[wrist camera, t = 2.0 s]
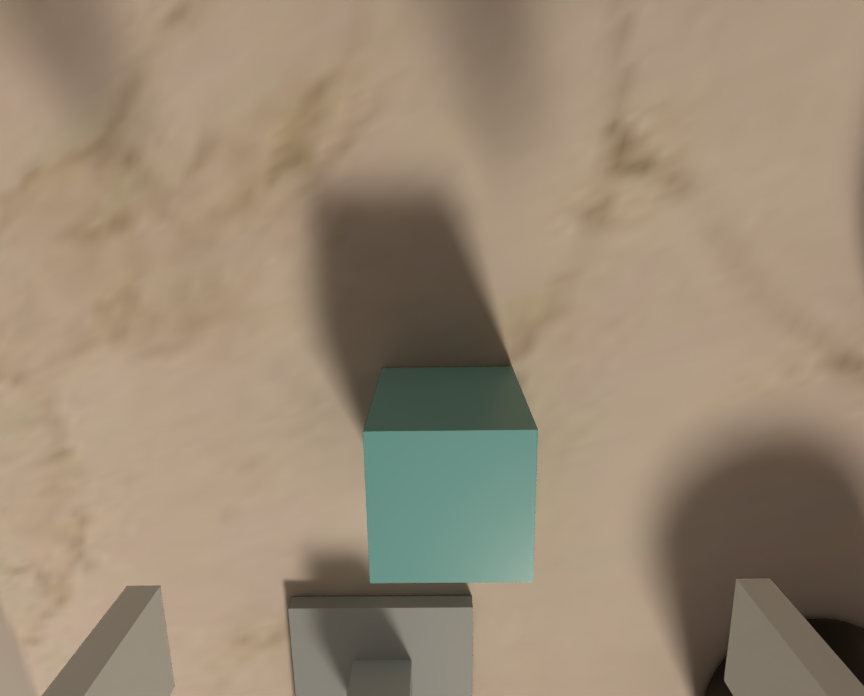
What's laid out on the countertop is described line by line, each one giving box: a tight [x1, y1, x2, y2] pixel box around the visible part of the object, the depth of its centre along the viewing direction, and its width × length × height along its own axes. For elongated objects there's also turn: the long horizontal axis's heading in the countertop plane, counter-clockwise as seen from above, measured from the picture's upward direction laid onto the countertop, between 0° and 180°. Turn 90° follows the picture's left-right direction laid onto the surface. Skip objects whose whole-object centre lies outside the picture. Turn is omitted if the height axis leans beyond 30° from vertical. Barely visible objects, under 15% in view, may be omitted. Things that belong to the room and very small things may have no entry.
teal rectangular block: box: [363, 366, 538, 583], centre depth 22 cm, size 5×5×7 cm
